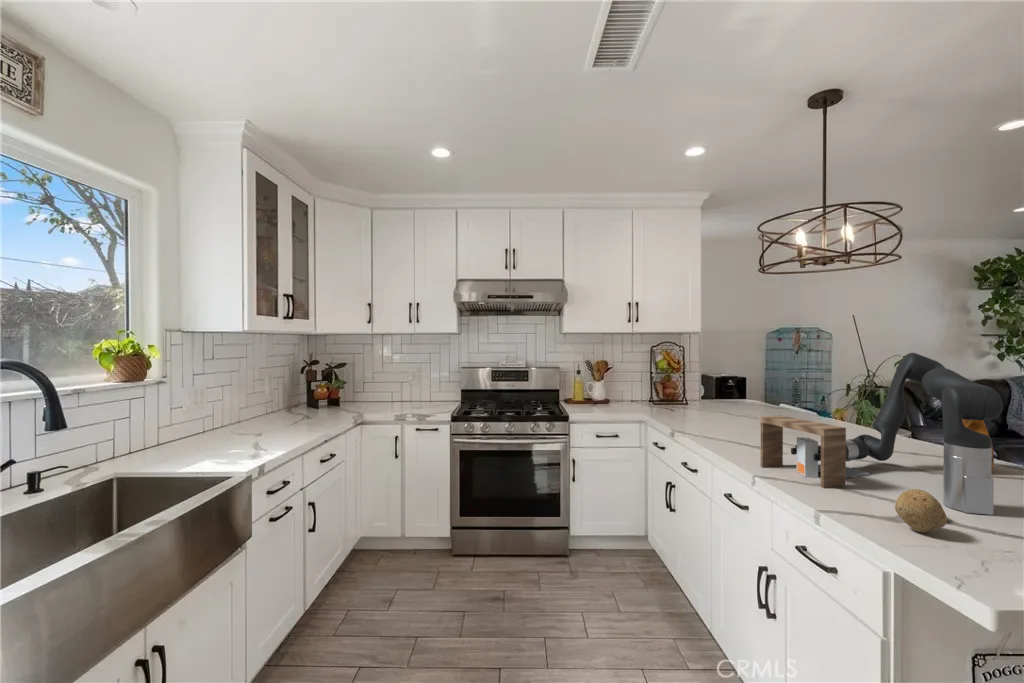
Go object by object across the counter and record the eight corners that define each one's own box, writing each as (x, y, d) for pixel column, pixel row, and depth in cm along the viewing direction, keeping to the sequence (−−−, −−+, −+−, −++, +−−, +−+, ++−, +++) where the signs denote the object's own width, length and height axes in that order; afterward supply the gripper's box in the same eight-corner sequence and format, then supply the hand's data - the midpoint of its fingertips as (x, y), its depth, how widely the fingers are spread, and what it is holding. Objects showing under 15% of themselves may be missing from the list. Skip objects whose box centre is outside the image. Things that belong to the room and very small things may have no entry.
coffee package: (953, 470, 159) (953, 407, 159) (953, 463, 168) (953, 403, 168) (994, 476, 152) (995, 410, 152) (992, 468, 161) (992, 406, 161)
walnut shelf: (845, 485, 143) (845, 427, 143) (823, 487, 140) (824, 429, 140) (780, 464, 166) (780, 415, 166) (760, 466, 163) (760, 416, 163)
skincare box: (796, 471, 157) (796, 437, 157) (809, 472, 157) (809, 437, 157) (804, 477, 151) (804, 441, 151) (818, 477, 151) (818, 441, 151)
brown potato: (884, 522, 114) (884, 482, 114) (921, 523, 114) (921, 483, 113) (914, 538, 105) (914, 495, 105) (954, 539, 104) (955, 496, 104)
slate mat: (869, 475, 153) (869, 473, 153) (840, 478, 150) (840, 476, 150) (832, 464, 166) (832, 463, 166) (804, 467, 162) (804, 466, 162)
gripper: (820, 435, 165) (784, 438, 160) (860, 444, 151) (822, 448, 146) (819, 456, 165) (784, 459, 160) (860, 467, 151) (822, 471, 147)
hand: (802, 454), depth 153 cm, fingers open, 8 cm apart
